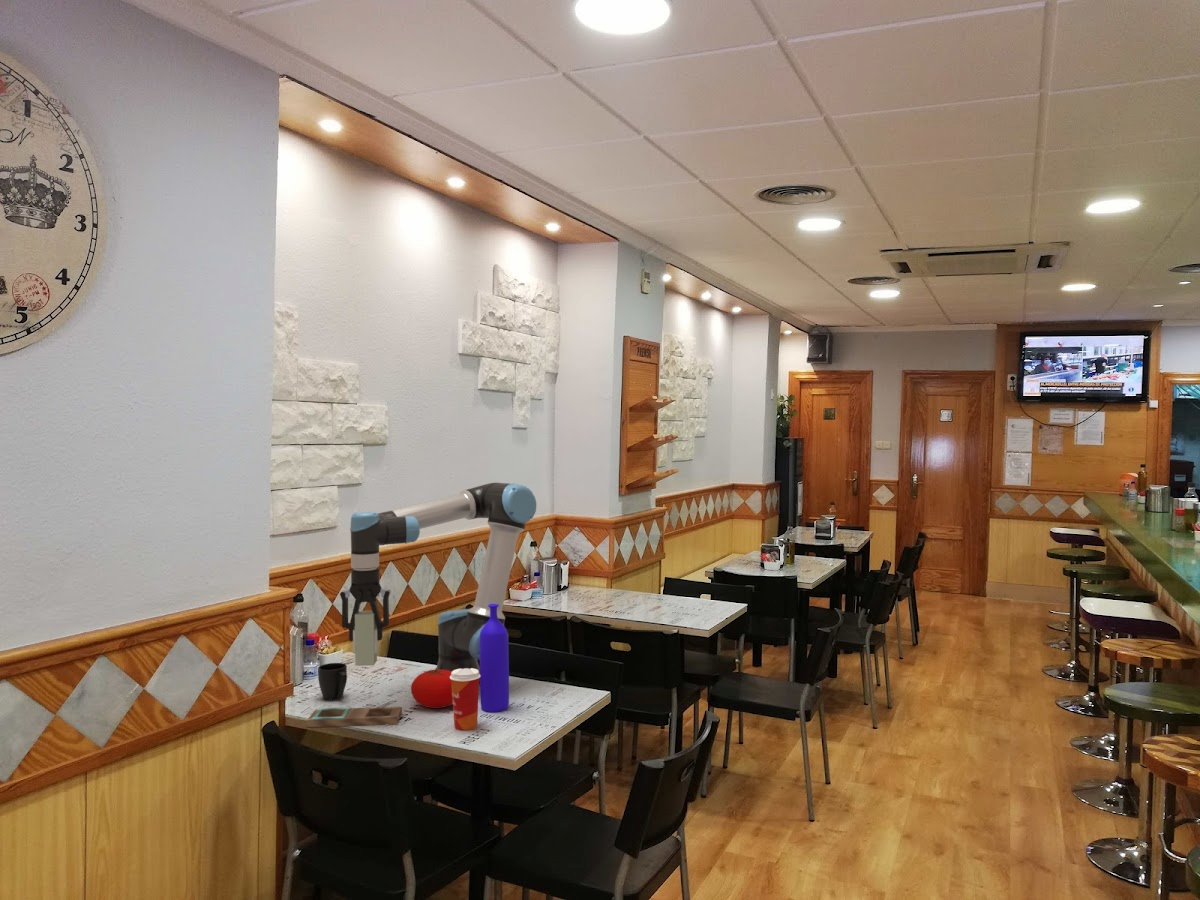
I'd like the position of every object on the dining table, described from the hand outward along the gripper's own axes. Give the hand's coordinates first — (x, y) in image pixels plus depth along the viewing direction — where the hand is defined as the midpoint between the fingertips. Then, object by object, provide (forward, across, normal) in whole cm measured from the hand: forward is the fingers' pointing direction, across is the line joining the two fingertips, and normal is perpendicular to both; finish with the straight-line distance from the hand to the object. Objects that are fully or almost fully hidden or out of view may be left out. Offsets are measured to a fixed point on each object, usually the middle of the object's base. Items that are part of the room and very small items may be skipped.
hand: (366, 652), depth 245 cm
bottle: (+19, -35, -7) cm, 40 cm away
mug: (+19, +13, -21) cm, 31 cm away
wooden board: (+19, +3, 0) cm, 19 cm away
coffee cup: (+19, -28, +8) cm, 35 cm away
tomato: (+19, -18, -11) cm, 29 cm away
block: (+3, 0, 0) cm, 3 cm away
